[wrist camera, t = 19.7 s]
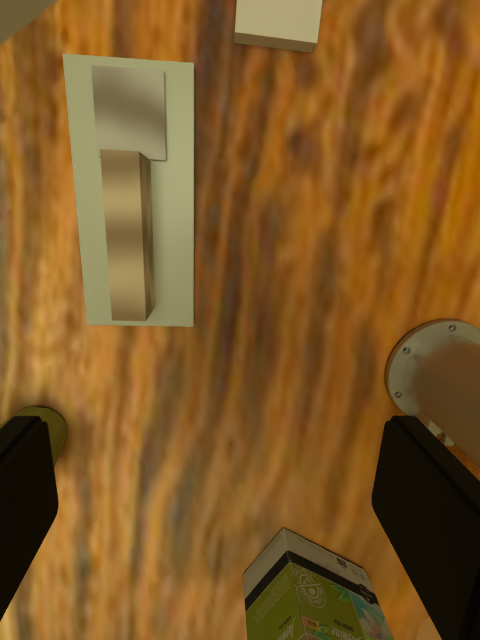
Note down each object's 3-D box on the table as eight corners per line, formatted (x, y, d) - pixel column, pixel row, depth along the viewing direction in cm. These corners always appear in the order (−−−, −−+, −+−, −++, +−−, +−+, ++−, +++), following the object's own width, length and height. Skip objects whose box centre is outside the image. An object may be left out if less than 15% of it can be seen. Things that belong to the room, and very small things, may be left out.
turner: (169, 307, 36) (162, 321, 32) (110, 306, 36) (94, 320, 31) (165, 73, 30) (155, 47, 26) (94, 68, 30) (70, 41, 25)
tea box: (366, 565, 50) (424, 703, 36) (323, 609, 52) (362, 757, 38) (282, 523, 47) (310, 657, 33) (240, 572, 49) (249, 717, 35)
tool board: (193, 324, 38) (193, 326, 37) (89, 322, 37) (86, 324, 36) (194, 66, 31) (193, 62, 30) (66, 57, 30) (62, 53, 30)
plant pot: (100, 434, 41) (71, 489, 33) (41, 475, 42) (-2, 539, 34) (41, 376, 39) (-6, 421, 30) (-20, 422, 40) (-82, 477, 32)
